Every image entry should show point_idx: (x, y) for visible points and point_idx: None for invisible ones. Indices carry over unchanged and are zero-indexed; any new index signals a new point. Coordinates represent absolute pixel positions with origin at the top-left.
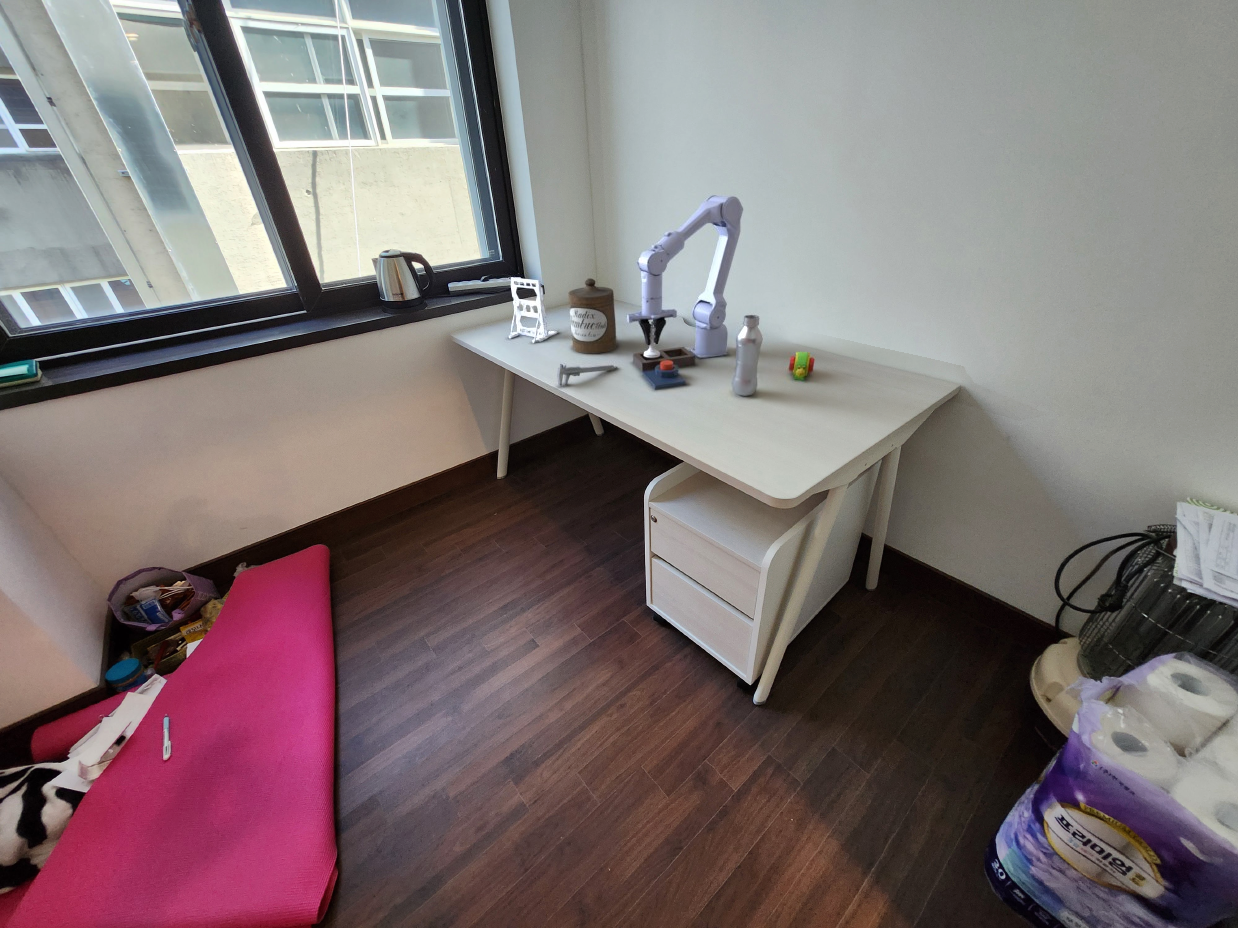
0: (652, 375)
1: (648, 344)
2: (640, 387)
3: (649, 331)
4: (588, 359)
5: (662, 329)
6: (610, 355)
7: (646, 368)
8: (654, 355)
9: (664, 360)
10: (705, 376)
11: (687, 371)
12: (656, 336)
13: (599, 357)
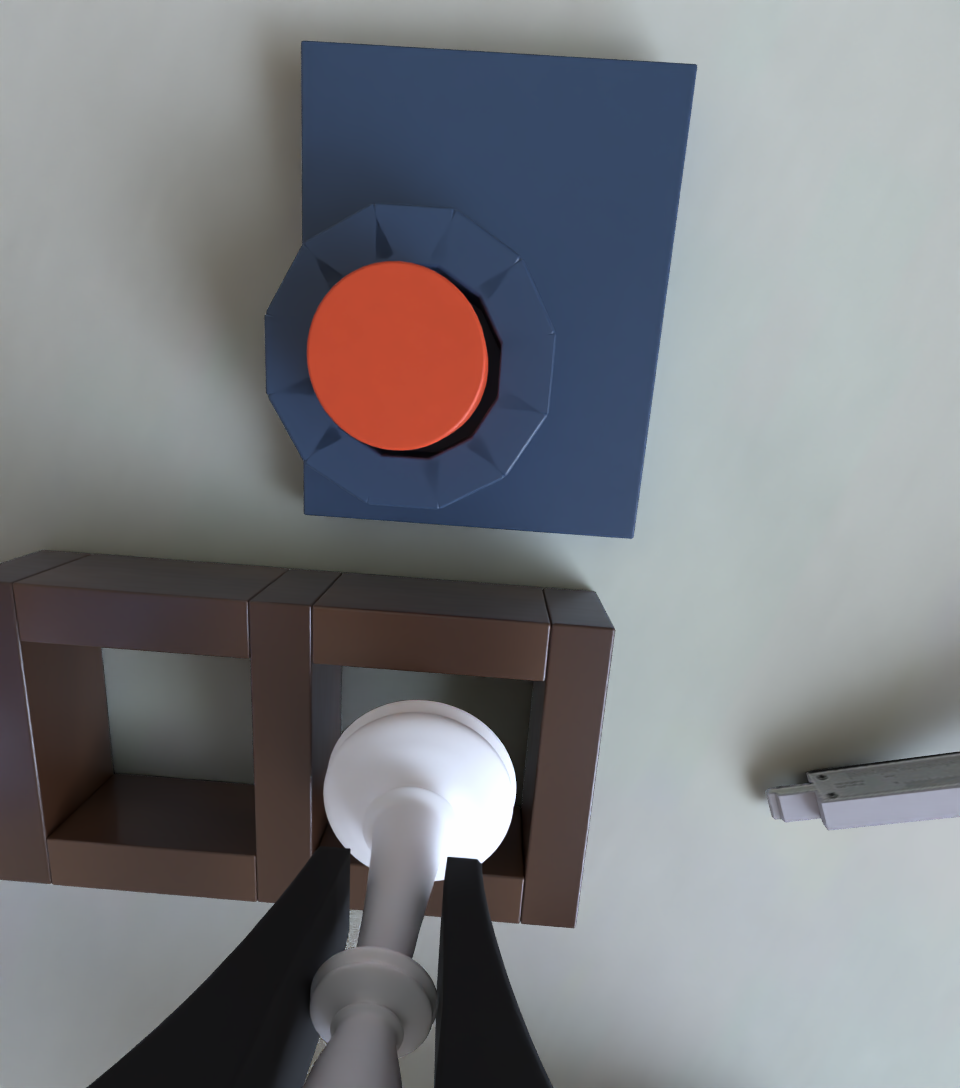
0: (584, 385)
1: (472, 869)
2: (787, 235)
3: (456, 1085)
4: (876, 1062)
5: (118, 1067)
6: (667, 1065)
7: (555, 601)
8: (422, 717)
9: (396, 445)
10: (29, 226)
11: (163, 441)
12: (304, 969)
13: (771, 1064)
